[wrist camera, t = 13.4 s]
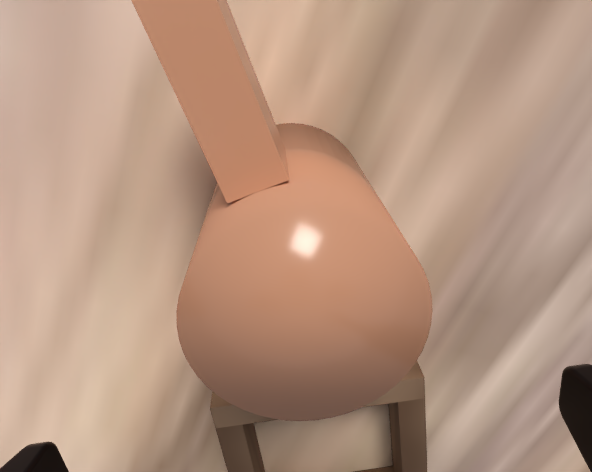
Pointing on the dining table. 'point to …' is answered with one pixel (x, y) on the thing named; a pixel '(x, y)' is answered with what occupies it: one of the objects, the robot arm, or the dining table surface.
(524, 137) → the dining table surface
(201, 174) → the dining table surface
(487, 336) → the dining table surface
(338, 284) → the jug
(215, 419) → the socket
